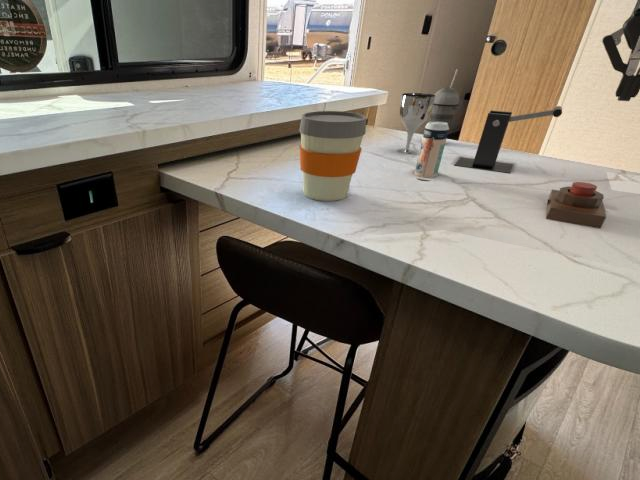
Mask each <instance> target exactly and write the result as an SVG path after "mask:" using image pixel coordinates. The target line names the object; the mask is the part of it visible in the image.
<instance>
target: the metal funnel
mask: <svg viewBox="0 0 640 480" xmlns="http://www.w3.org/2000/svg"><path fill="white" fill-rule="evenodd" d="M435 97H436V96H435V94H433V93H432V94H431V93H424V92H423V93H422V92H405V93H402V94H401V97H400V104H399V118H400V121H401V123H402V124H403V126H404V128H405V130H406V133H407V137H406V146H405V150H404V151H403V152H402V153H403V154H406V155H409V154H410V151H409V150H410V145H411V143H412V139H413V137H414V135H415V133H416V131H417V130H418V129H419V128H420V127H422V126H423V125H424V124H425V123H426V122H427V121H428V120H429V117H430V113H431V111H432V108H433V105H434V101H435Z"/></svg>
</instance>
